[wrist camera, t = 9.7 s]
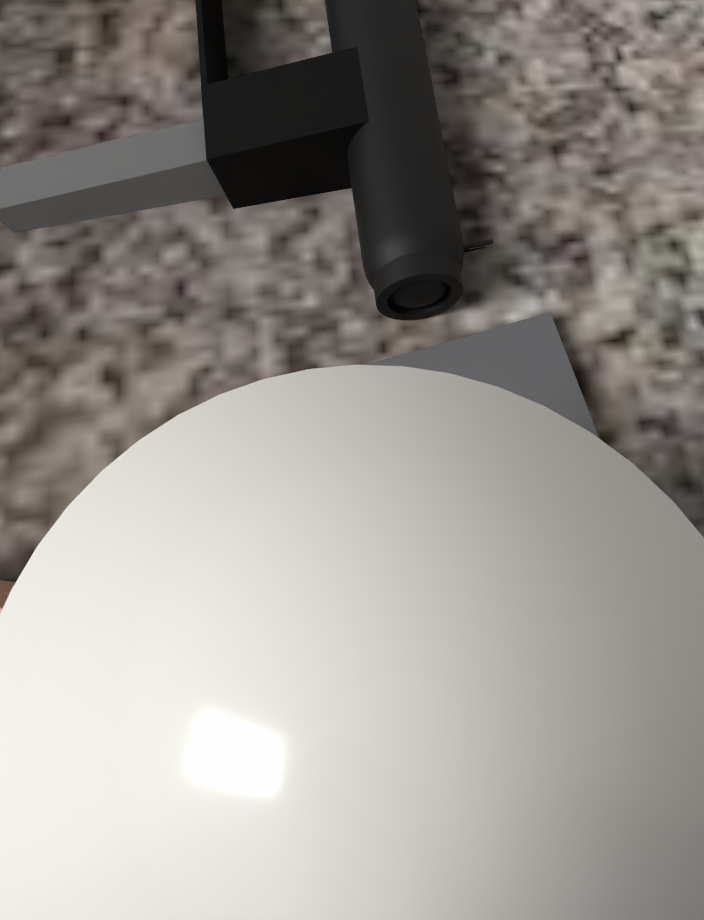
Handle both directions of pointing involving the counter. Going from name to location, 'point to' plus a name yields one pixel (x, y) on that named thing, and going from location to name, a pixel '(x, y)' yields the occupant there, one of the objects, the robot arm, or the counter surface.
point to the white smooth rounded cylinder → (357, 669)
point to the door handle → (290, 152)
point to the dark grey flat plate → (511, 365)
